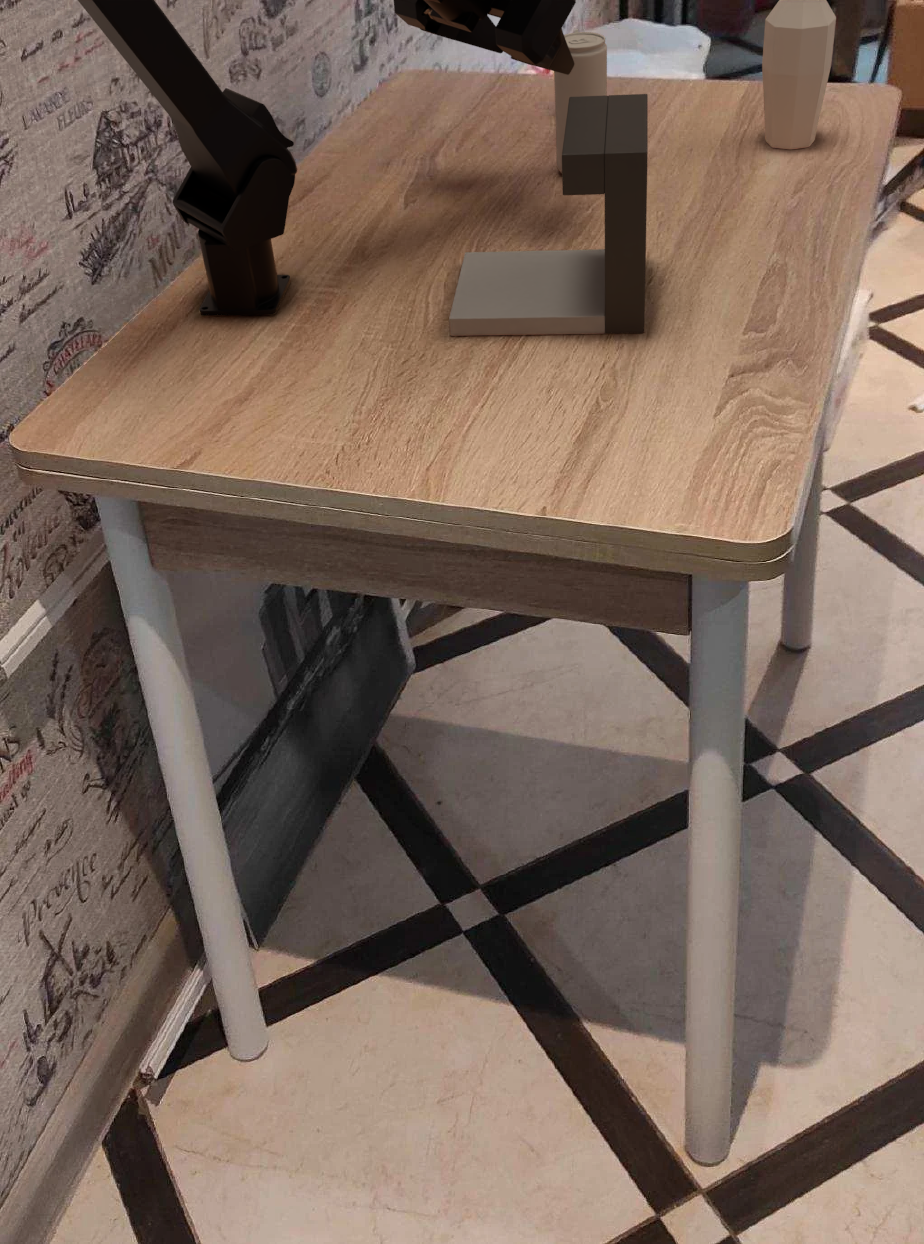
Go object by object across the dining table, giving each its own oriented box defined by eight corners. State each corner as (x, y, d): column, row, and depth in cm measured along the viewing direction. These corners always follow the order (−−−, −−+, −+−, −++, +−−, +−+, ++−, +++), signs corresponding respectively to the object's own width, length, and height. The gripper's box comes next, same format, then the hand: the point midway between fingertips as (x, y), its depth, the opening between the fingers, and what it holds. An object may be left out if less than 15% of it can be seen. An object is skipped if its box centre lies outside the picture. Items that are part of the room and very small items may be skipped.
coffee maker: (644, 333, 102) (647, 152, 93) (450, 336, 104) (435, 158, 95) (644, 264, 111) (647, 93, 102) (466, 268, 113) (453, 100, 104)
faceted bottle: (821, 128, 131) (847, -122, 117) (825, 152, 127) (852, -105, 113) (756, 129, 132) (773, -119, 118) (757, 153, 128) (775, -102, 114)
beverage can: (614, 174, 126) (614, 42, 118) (566, 183, 125) (563, 51, 118) (596, 157, 130) (595, 28, 122) (549, 166, 129) (546, 36, 121)
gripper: (553, -131, 99) (658, -7, 111) (407, -156, 111) (515, -42, 123) (478, 7, 101) (589, 114, 112) (341, -33, 112) (454, 68, 124)
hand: (536, 58), depth 118 cm, fingers open, 9 cm apart
